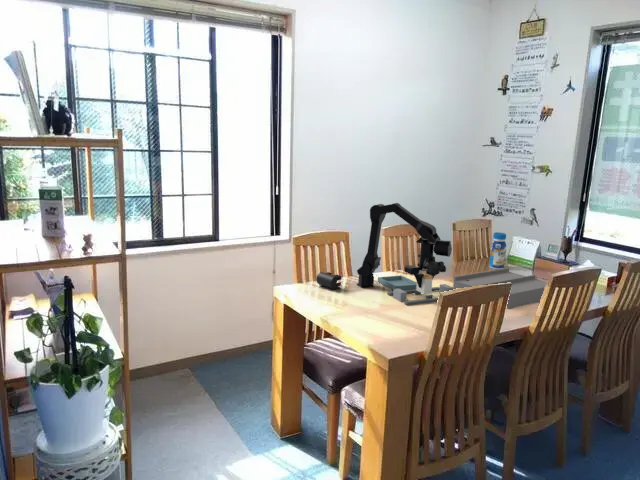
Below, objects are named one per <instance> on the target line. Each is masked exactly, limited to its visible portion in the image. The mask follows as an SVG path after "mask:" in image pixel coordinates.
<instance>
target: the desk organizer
mask: <svg viewBox="0 0 640 480" xmlns="http://www.w3.org/2000/svg"><path fill="white" fill-rule="evenodd" d="M536 275H537V274H532V275H523V274H519V273H516V272H512V271H510V268H509V267H504V268H503V269H493V270H487V271H480V272H475V273H468V274H461V275H456V276H453V283H452V284H453V286H452V287H453V289H456V288H464V287H472V286H479V285H488V284H498V283H507V282H511V283H512V289H511V292H510V296H509V300H508V304H507V308H506V309H508V310H511V309H516V308H519V307H523V306H528V305H532V304H537V303H541V302H540V299H541V296H542V294H543V291H544V287H545V284H546V283H547V282H548V281H544V280H541V279H537V278H536Z"/></svg>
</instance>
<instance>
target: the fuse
mask: <svg viewBox="0 0 640 480" xmlns="http://www.w3.org/2000/svg"><path fill="white" fill-rule="evenodd" d="M422 274H424V275H423V277H422V285H421V288H419V286H418V283H417V286H416V290H417V291H419V292H421V294H423V295H431V294H432V292H433V291H432V287H433V279H434V278H433V276H432V275H429V274H427V273H426V272H422Z"/></svg>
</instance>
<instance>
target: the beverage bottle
mask: <svg viewBox="0 0 640 480" xmlns="http://www.w3.org/2000/svg"><path fill="white" fill-rule="evenodd" d="M492 238H493V240H492V242H491V244H490V245H491V247H490V249H489V251H490V253H489V261H488V268H490V269H493V270H498V269H504V268H505V262H506V252H507V243H506V241H505V240H506V239H507V234H506V233H505V232H493V236H492Z"/></svg>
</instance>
